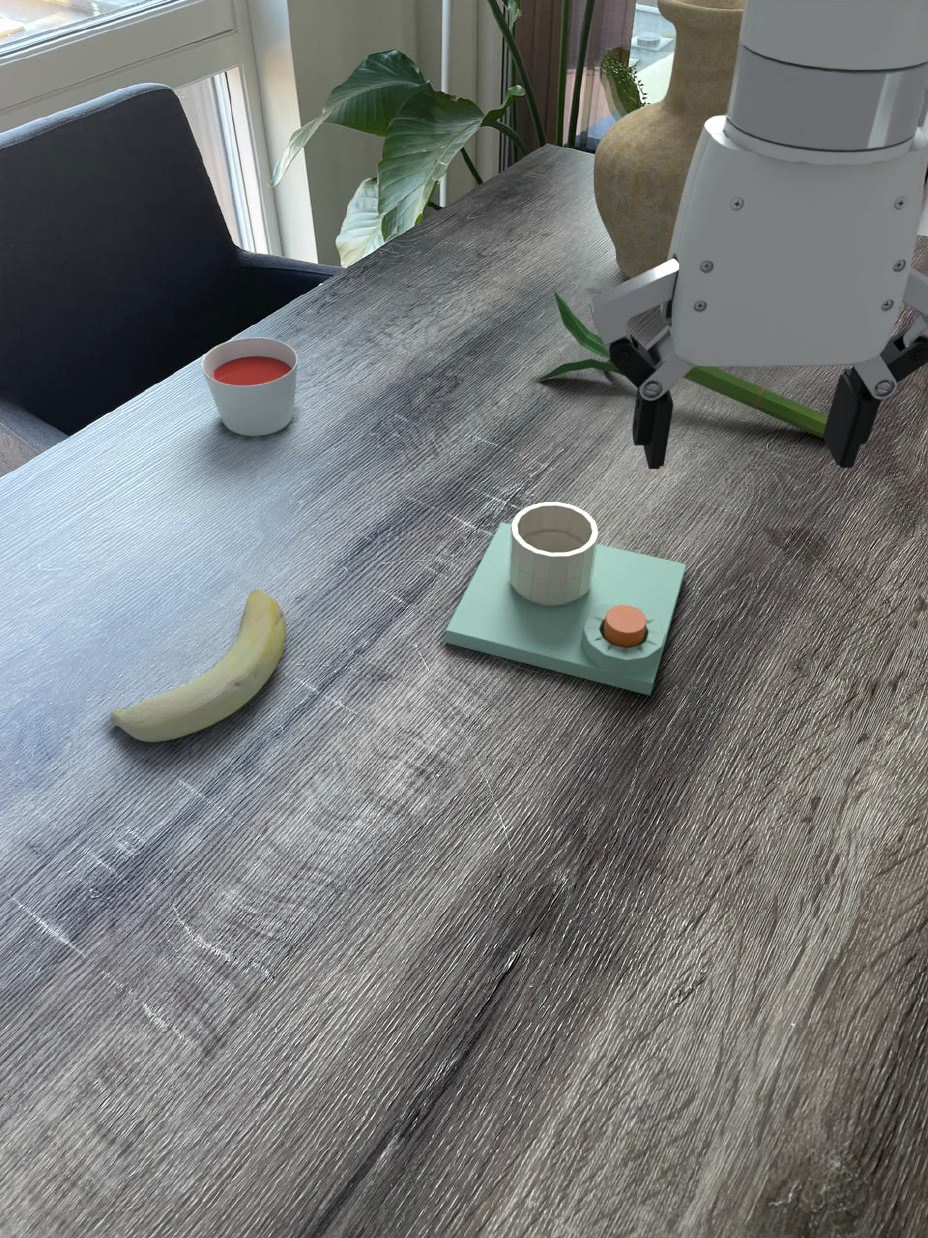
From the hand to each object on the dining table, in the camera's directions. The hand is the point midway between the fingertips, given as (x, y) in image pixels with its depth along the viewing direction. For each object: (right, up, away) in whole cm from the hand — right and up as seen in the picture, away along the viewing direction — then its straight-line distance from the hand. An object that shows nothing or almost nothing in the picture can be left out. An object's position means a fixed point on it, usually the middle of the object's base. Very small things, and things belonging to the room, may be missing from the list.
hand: (744, 453), depth 52 cm
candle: (-35, +11, +47) cm, 60 cm away
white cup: (-8, -6, +28) cm, 30 cm away
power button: (-3, -10, +22) cm, 24 cm away
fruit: (-33, -13, +22) cm, 42 cm away
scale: (-6, -8, +28) cm, 30 cm away
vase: (+11, +33, +71) cm, 79 cm away
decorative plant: (+8, +14, +51) cm, 53 cm away
